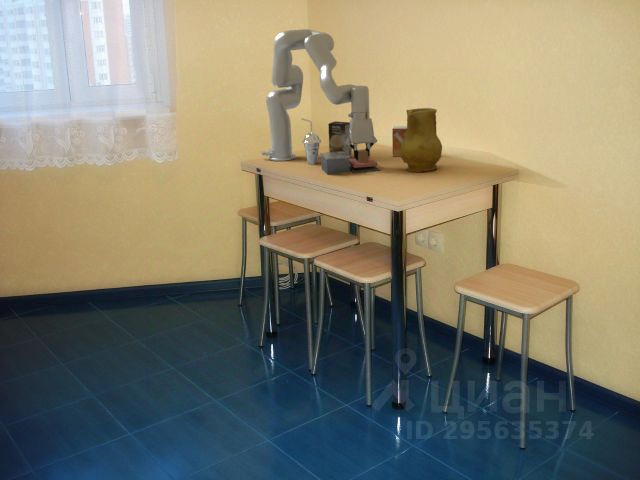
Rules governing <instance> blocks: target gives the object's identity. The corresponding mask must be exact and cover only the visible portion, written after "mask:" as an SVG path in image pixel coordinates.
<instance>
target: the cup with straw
mask: <svg viewBox="0 0 640 480" xmlns="http://www.w3.org/2000/svg"><path fill="white" fill-rule="evenodd" d="M301 120H302V121H305V122H308V123H309V127H310V132H309V133H306V134H305V136H304V137H303V139H302V142H301V143H302V144H303V146H304V149H305V154H306V156H305V157H306V161H307V165H313V166H314V165H318V164H319V162H318V161H319V150H320V143H322V141H321V139H320V138H319V137H320V136H319V135H318V134H317V133H315V132H313V123H312V121H311V120H309V119H306V118H301Z"/></svg>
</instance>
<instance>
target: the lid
mask: <svg viewBox="0 0 640 480" xmlns="http://www.w3.org/2000/svg"><path fill="white" fill-rule="evenodd" d="M357 150H358V160H356V159H355V158H349V164H350V165H351V166H353V167H354V168H358V167H369V166H376V167H378V162H377V161H375V160H374V159H372V158H370V157H369V159H368V151H366V150H365V148H363V149H357Z"/></svg>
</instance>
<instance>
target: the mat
mask: <svg viewBox="0 0 640 480" xmlns="http://www.w3.org/2000/svg"><path fill="white" fill-rule="evenodd" d="M349 167H350V173H353V174H361V173H370V172H371V173H372V172H381V169H380V168H379V167H378V166H369V167H358V168H354V167H353V166H351V165H350V164H349Z"/></svg>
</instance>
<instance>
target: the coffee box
mask: <svg viewBox="0 0 640 480" xmlns="http://www.w3.org/2000/svg"><path fill="white" fill-rule="evenodd" d="M349 125H350V121H348V122H347V121H336V120H335V121H332V122H329V123H328V125H327V126H328V148H329V149H328V150H329V152H338V151H343V152H345V153H346V154H347V155H349V156H350V158H352V156H353V149H352V148H351V147H350V146H348V145H346V144H345V142H346V141H347V139H348V137H349ZM350 144H352V145H353V143H352V142H350Z"/></svg>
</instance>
